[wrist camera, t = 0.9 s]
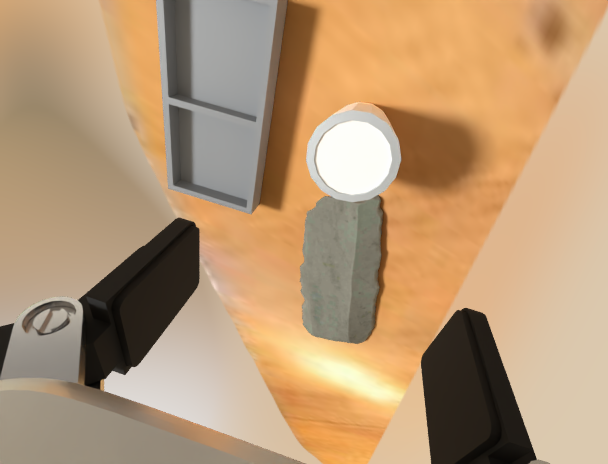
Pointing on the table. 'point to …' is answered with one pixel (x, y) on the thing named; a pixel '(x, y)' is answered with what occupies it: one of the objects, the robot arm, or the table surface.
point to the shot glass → (354, 153)
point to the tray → (219, 94)
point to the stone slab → (341, 268)
